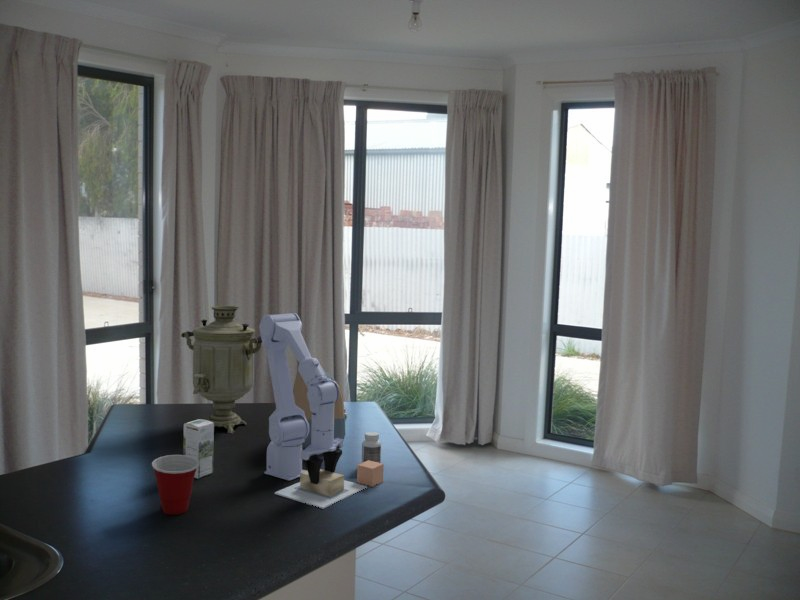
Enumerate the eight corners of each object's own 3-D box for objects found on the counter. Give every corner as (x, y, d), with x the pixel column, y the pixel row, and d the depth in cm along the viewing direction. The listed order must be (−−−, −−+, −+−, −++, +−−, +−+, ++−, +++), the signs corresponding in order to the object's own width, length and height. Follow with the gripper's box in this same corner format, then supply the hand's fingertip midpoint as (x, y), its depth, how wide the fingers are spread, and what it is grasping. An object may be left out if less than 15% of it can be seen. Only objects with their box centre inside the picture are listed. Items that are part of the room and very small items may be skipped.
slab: (300, 487, 194) (300, 472, 194) (314, 481, 199) (314, 467, 198) (330, 496, 189) (330, 481, 188) (343, 490, 193) (344, 475, 193)
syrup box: (198, 469, 207) (198, 418, 206) (214, 473, 204) (214, 421, 203) (182, 475, 202) (182, 422, 201) (198, 479, 199) (198, 426, 198)
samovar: (154, 428, 244) (153, 307, 240) (216, 413, 266) (216, 300, 261) (216, 446, 227) (217, 316, 223) (277, 428, 249) (279, 308, 244)
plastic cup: (173, 523, 171) (173, 472, 170) (142, 512, 177) (141, 462, 175) (209, 508, 180) (209, 459, 179) (178, 498, 186) (177, 451, 185)
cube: (357, 483, 200) (357, 464, 200) (368, 477, 205) (368, 460, 204) (372, 487, 198) (372, 468, 197) (383, 481, 202) (383, 463, 201)
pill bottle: (384, 468, 212) (384, 434, 211) (367, 471, 209) (368, 437, 208) (374, 462, 217) (374, 429, 216) (358, 465, 214) (358, 432, 213)
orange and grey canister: (347, 449, 229) (348, 374, 226) (292, 452, 225) (293, 376, 222) (338, 433, 245) (339, 363, 242) (286, 436, 241) (287, 364, 238)
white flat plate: (274, 493, 191) (274, 492, 191) (320, 474, 206) (320, 473, 205) (323, 508, 182) (323, 507, 182) (367, 487, 197) (367, 486, 197)
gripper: (316, 437, 184) (315, 491, 185) (352, 425, 196) (351, 475, 197) (294, 432, 188) (293, 485, 189) (331, 420, 199) (330, 470, 201)
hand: (321, 479), depth 193 cm, fingers closed on slab, 5 cm apart
